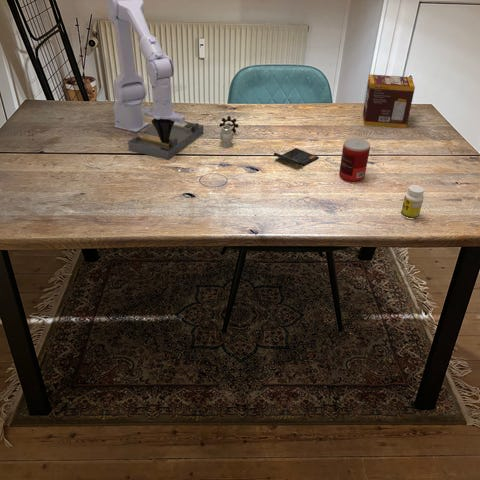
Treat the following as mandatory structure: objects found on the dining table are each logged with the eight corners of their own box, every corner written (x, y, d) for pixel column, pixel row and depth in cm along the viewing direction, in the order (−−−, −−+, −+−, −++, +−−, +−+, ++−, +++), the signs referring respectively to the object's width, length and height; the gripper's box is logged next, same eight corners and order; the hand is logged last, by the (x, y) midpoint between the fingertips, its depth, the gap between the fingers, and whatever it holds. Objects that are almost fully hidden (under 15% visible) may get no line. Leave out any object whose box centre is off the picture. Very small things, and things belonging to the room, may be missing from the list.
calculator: (318, 159, 171) (319, 150, 169) (296, 171, 164) (297, 162, 162) (295, 150, 176) (296, 141, 174) (273, 161, 169) (273, 152, 167)
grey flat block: (128, 150, 172) (127, 136, 169) (166, 125, 189) (165, 112, 186) (168, 160, 167) (167, 146, 164) (203, 133, 184) (203, 120, 181)
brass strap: (137, 138, 172) (136, 135, 171) (142, 135, 174) (142, 132, 173) (169, 146, 168) (168, 143, 167) (173, 142, 170) (173, 139, 169)
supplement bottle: (398, 210, 146) (404, 183, 141) (414, 210, 146) (421, 183, 141) (404, 220, 142) (410, 193, 137) (421, 219, 142) (428, 192, 137)
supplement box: (361, 114, 202) (368, 73, 193) (403, 117, 201) (411, 76, 192) (363, 125, 194) (370, 83, 185) (406, 128, 192) (415, 86, 183)
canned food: (366, 173, 163) (372, 140, 157) (362, 185, 157) (368, 151, 151) (341, 168, 165) (346, 136, 159) (336, 180, 159) (341, 146, 152)
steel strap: (160, 123, 182) (160, 120, 182) (164, 120, 184) (164, 117, 184) (190, 130, 178) (190, 127, 178) (195, 127, 180) (195, 124, 180)
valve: (235, 149, 175) (238, 134, 185) (236, 130, 171) (238, 116, 181) (215, 148, 175) (219, 133, 185) (215, 129, 171) (219, 115, 181)
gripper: (134, 98, 161) (138, 140, 169) (176, 107, 156) (178, 149, 164) (147, 91, 166) (150, 132, 174) (187, 99, 161) (189, 141, 169)
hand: (164, 140), depth 169 cm, fingers closed
